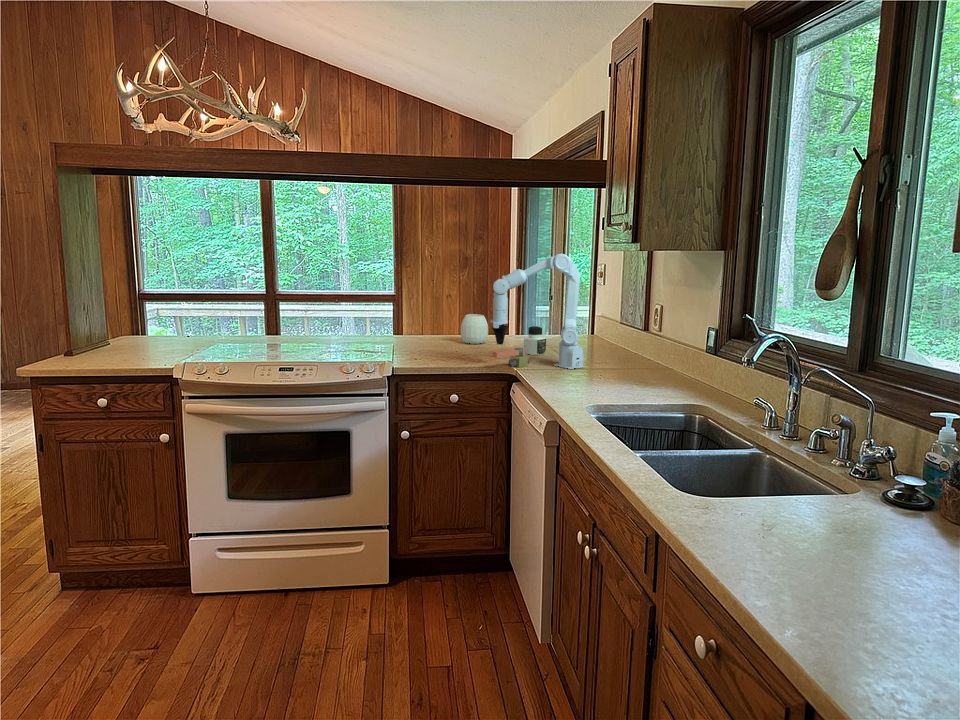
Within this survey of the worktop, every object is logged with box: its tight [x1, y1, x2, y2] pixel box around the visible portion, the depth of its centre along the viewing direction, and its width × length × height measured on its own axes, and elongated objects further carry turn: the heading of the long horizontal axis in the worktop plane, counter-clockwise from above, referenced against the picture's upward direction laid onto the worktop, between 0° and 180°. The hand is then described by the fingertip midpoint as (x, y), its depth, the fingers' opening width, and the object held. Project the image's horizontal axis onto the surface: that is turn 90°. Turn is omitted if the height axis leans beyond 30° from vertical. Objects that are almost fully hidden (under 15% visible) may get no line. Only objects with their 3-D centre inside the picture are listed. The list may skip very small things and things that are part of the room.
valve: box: [507, 354, 530, 369], centre depth 268 cm, size 6×8×4 cm
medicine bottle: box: [523, 325, 547, 356], centre depth 296 cm, size 7×7×12 cm
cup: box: [460, 313, 489, 345], centre depth 324 cm, size 13×13×14 cm
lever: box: [492, 347, 526, 359], centre depth 264 cm, size 14×3×2 cm, turn 126°
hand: (500, 344), depth 269 cm, fingers closed
